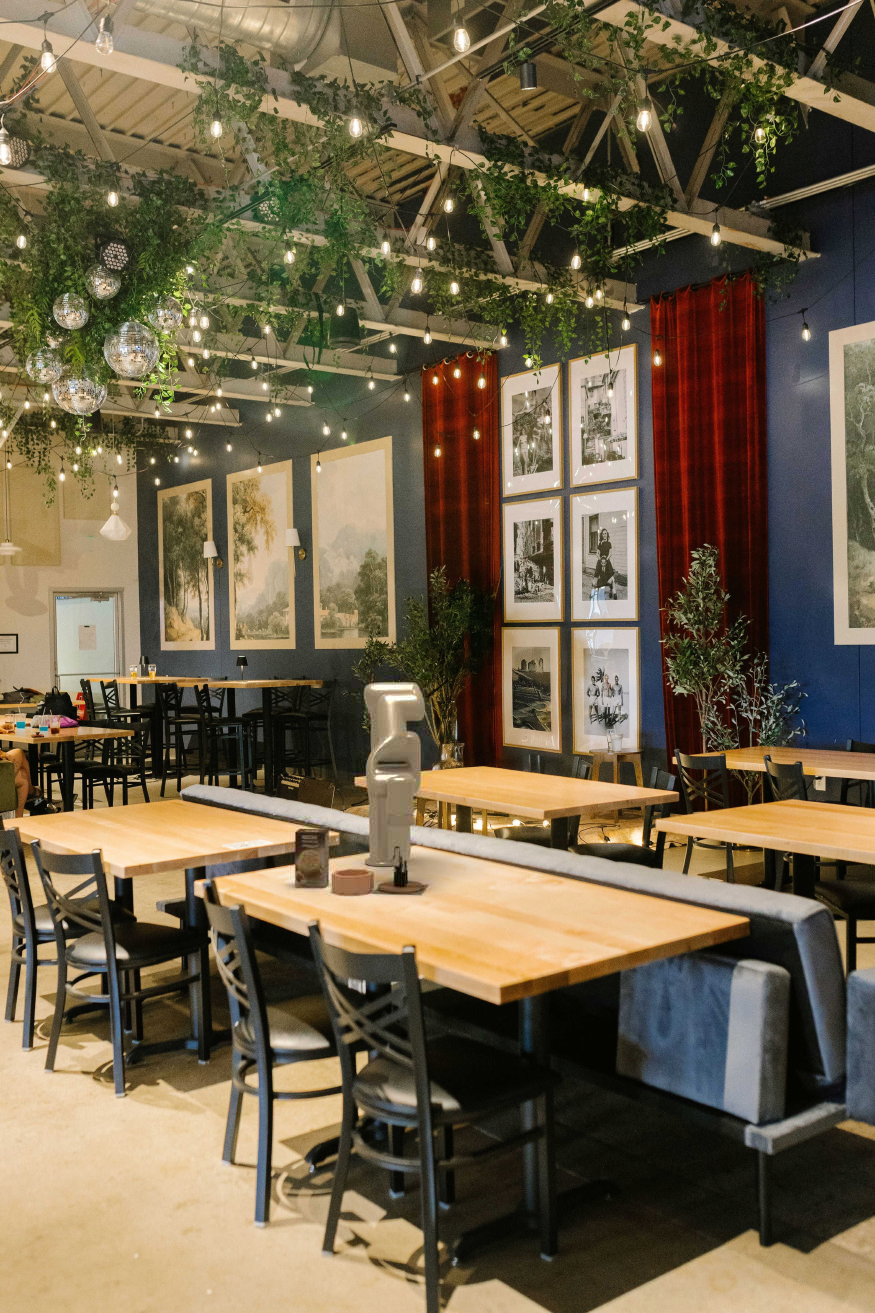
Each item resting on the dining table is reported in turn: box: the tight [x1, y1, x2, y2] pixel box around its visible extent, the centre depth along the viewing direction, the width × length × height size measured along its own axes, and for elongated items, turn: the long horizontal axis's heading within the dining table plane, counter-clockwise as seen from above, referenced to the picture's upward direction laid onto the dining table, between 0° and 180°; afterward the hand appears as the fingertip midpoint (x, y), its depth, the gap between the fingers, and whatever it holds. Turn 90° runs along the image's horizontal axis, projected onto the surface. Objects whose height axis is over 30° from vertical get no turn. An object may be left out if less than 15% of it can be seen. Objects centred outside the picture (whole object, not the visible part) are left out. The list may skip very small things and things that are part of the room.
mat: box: [371, 883, 430, 896], centre depth 300 cm, size 14×14×1 cm
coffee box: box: [294, 828, 330, 889], centre depth 309 cm, size 9×6×16 cm
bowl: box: [331, 868, 375, 897], centre depth 298 cm, size 11×11×6 cm
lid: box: [377, 867, 425, 894], centre depth 300 cm, size 13×13×6 cm
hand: (400, 884), depth 300 cm, fingers closed on lid, 2 cm apart
